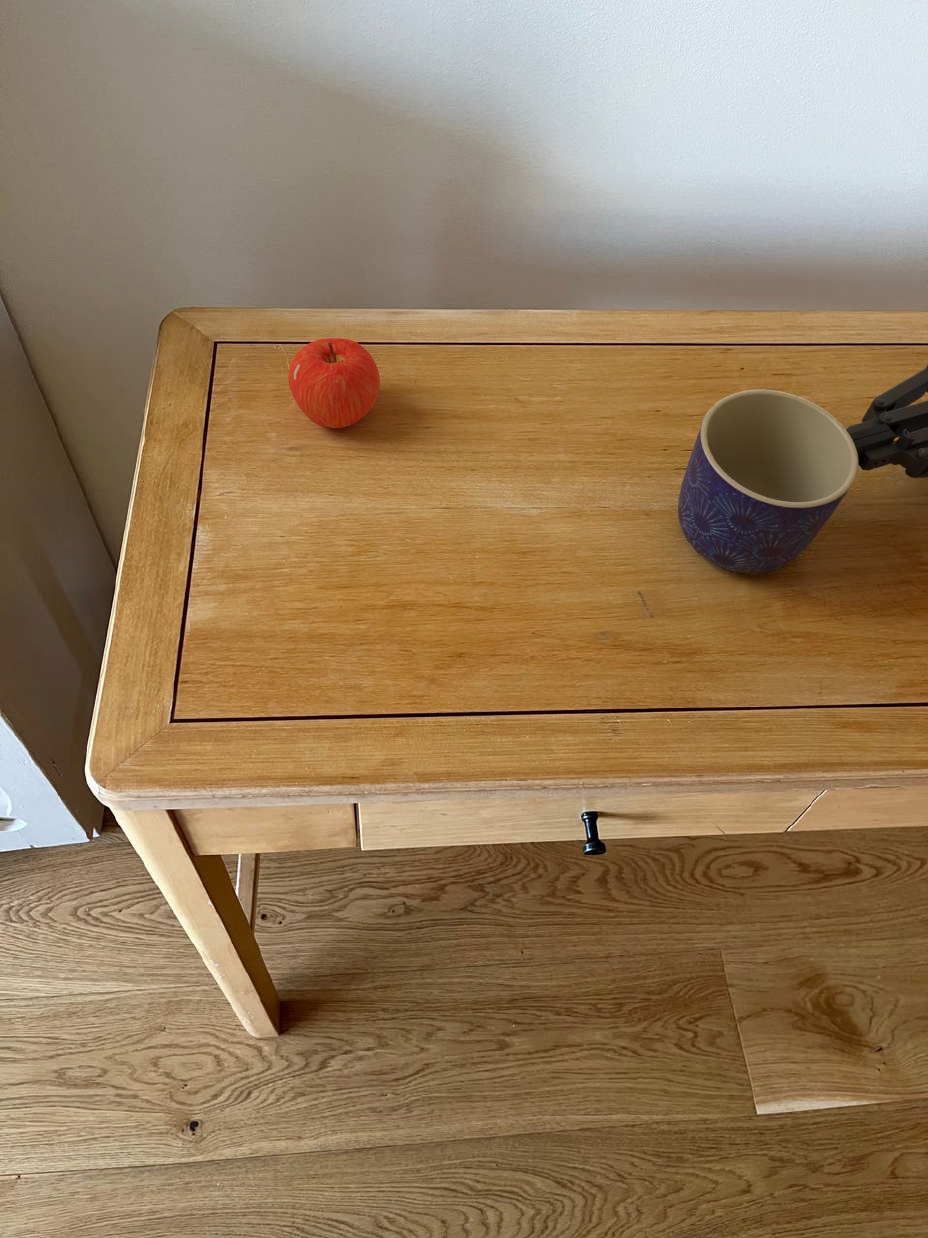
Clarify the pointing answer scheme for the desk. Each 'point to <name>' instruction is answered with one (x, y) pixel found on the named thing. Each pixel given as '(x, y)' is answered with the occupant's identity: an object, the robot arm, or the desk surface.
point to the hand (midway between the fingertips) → (821, 459)
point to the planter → (763, 479)
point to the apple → (334, 381)
